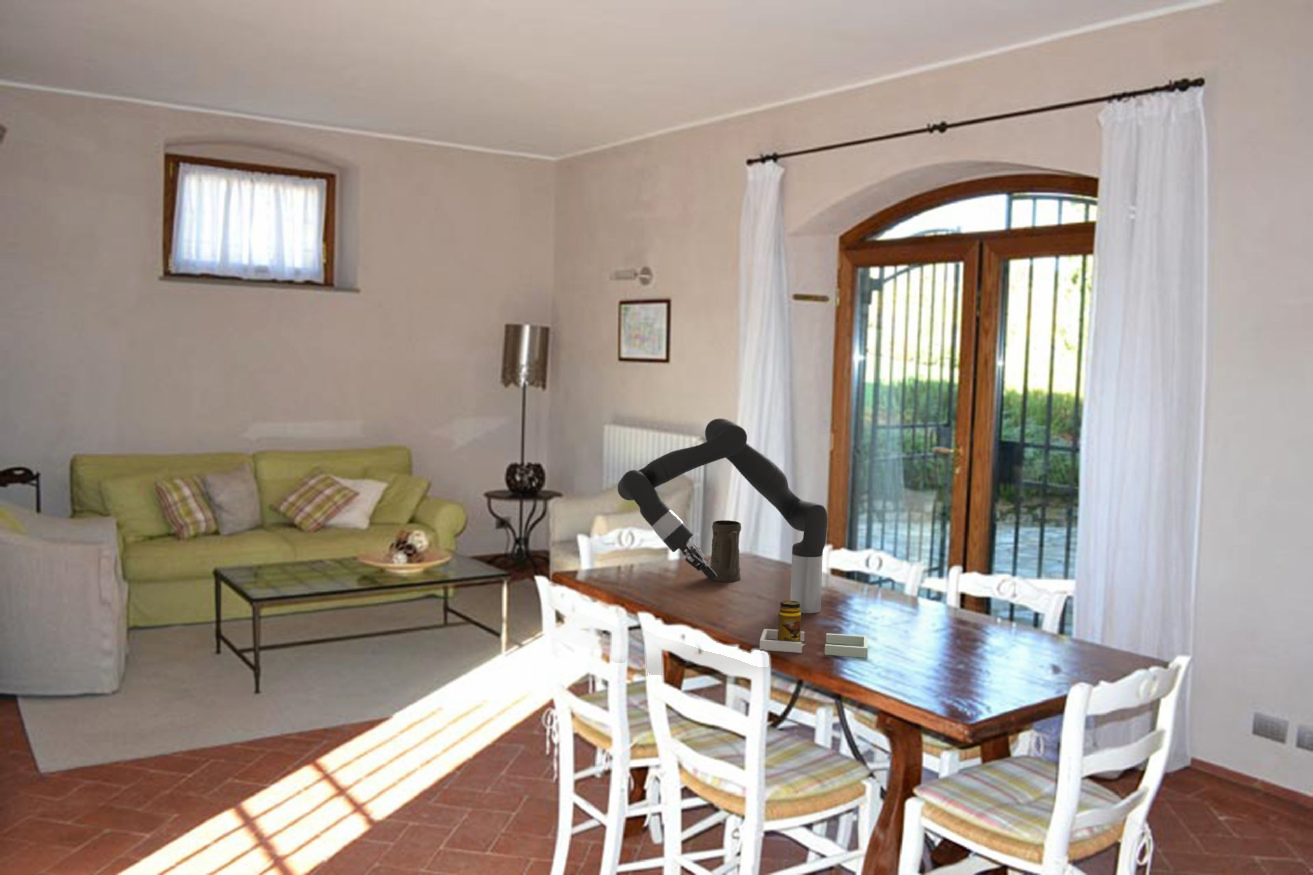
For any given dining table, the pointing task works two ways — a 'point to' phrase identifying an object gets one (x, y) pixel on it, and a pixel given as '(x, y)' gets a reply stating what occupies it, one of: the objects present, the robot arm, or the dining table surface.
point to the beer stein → (726, 550)
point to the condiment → (789, 622)
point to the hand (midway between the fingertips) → (714, 578)
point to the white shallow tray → (846, 650)
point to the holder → (779, 642)
